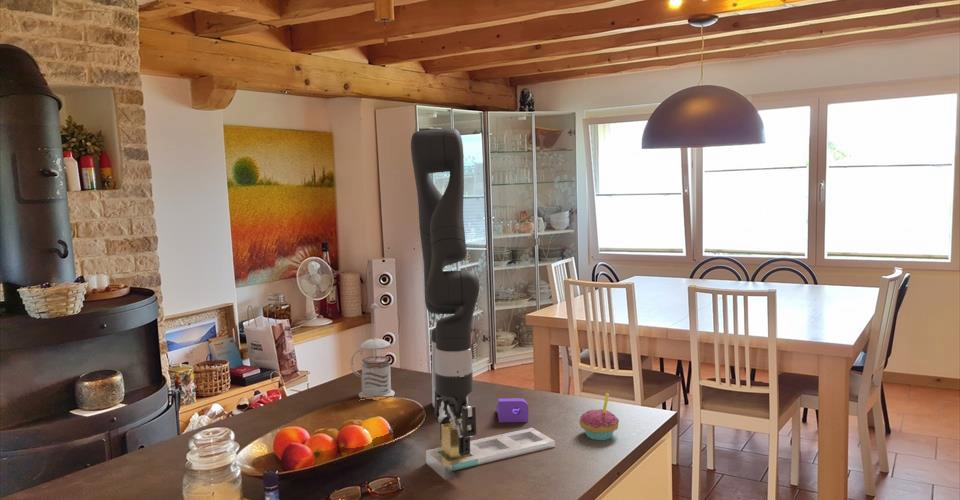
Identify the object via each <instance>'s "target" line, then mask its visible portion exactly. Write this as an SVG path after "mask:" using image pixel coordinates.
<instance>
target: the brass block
mask: <svg viewBox="0 0 960 500" xmlns="http://www.w3.org/2000/svg"><path fill="white" fill-rule="evenodd" d="M450 422H451V423H446V424H441V429H442V440H441V447H442V456H443V457H444V458H445V459H446V460H447V461H453V460H457V459H462V458H466V457H468V455H463V456H461V455H460V454H459V442H458V437H459V435H458V431H457V428H456V427H454V426H453V423H452V421H450ZM461 428H462V426H461Z"/></svg>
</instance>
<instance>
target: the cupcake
mask: <svg viewBox="0 0 960 500" xmlns="http://www.w3.org/2000/svg"><path fill="white" fill-rule="evenodd" d="M609 393H610V390H607V392H606V393H605V396H604V402H603V407H602V408H599V409H591V410H587V411H585V412H583V414H582V415H581V416H580V418H579V425H580V428H581V429H582V430H584V432H585V435H586V436H587V437H588V438H589V439H592V440H595V441H604V440H605V441H606V440H609V439H611V438H612V437H613V435H614V434H613V433H614V431H616V430H618V428H619V421H620V419H619V418H618V417H617V416H616V414H614V413H612V412H611V411H609V410H607V407H608V402H609V395H610V394H609Z"/></svg>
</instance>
